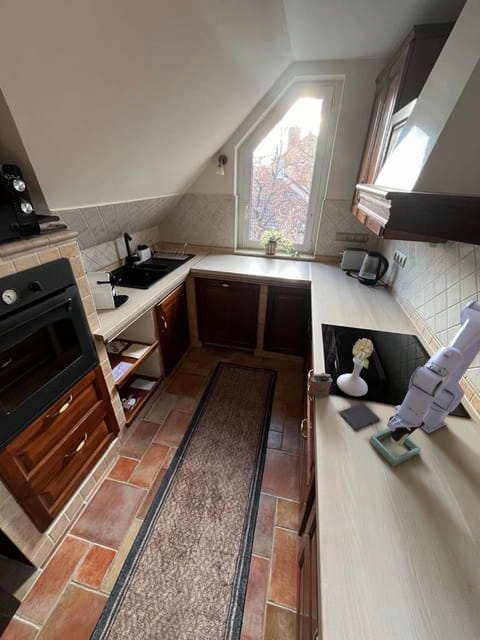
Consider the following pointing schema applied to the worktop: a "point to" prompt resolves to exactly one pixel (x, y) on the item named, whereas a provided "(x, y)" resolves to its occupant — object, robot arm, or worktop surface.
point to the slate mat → (359, 416)
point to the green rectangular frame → (387, 454)
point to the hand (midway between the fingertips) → (398, 436)
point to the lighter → (319, 385)
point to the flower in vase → (357, 370)
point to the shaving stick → (401, 438)
